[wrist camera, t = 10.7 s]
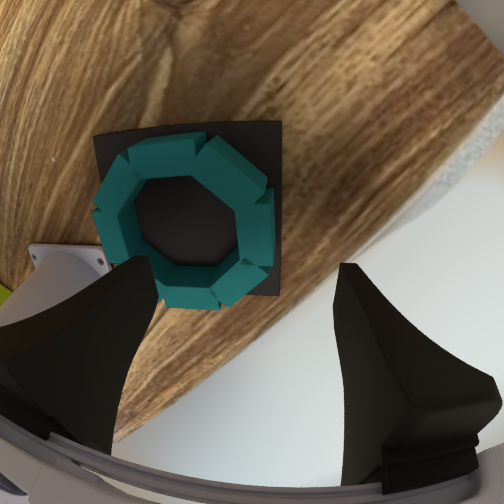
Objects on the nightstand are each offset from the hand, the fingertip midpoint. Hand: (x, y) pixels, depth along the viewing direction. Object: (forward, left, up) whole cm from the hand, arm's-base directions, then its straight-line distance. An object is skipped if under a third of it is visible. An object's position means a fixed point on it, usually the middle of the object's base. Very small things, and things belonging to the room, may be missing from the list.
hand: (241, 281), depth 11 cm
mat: (0, +4, -6) cm, 7 cm away
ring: (0, +4, -5) cm, 6 cm away
